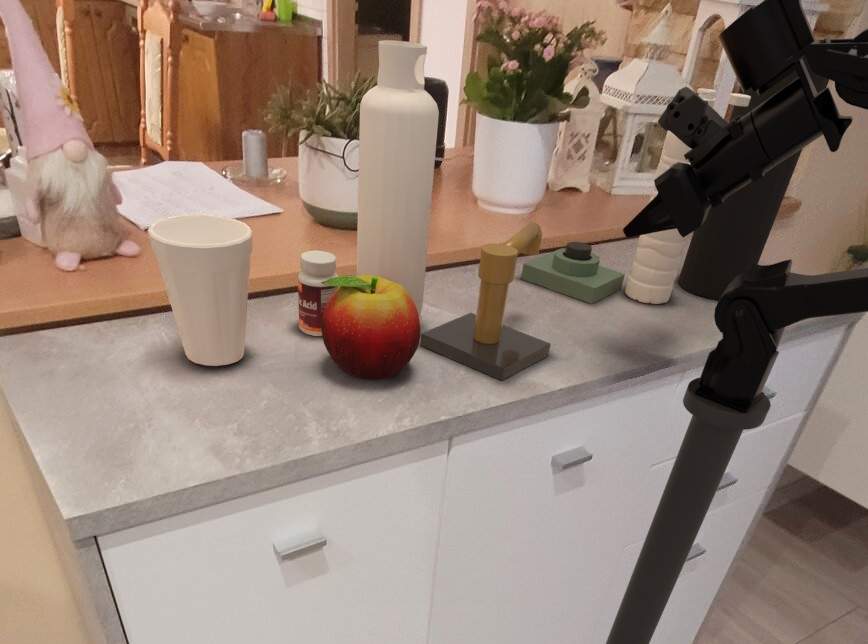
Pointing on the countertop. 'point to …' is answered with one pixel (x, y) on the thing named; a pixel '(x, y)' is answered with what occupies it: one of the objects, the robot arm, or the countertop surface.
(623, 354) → the countertop surface
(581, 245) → the dark round button
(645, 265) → the water bottle
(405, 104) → the bottle
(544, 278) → the green button mount
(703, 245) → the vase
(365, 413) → the countertop surface
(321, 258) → the pill bottle
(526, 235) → the spout
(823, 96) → the robot arm
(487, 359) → the tap base
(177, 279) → the cup
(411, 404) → the countertop surface
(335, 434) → the countertop surface
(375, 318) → the fruit
